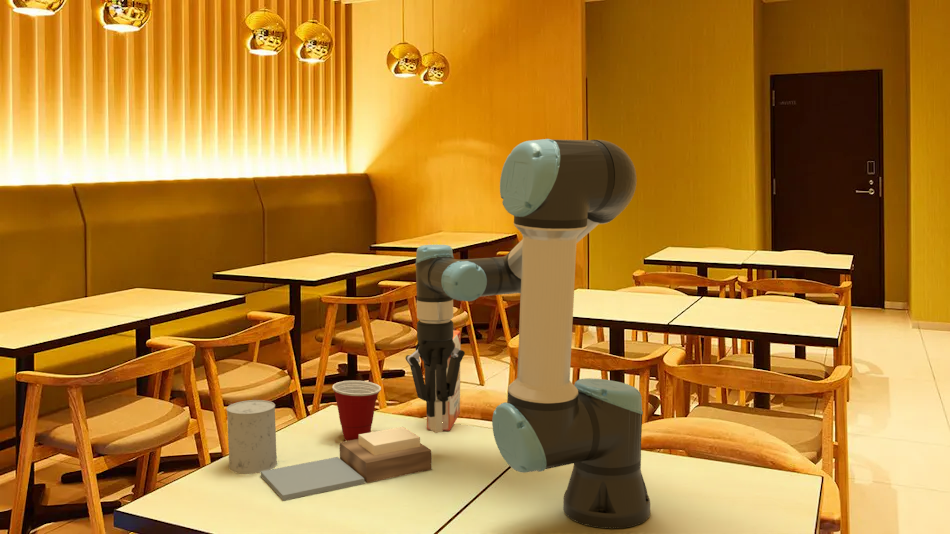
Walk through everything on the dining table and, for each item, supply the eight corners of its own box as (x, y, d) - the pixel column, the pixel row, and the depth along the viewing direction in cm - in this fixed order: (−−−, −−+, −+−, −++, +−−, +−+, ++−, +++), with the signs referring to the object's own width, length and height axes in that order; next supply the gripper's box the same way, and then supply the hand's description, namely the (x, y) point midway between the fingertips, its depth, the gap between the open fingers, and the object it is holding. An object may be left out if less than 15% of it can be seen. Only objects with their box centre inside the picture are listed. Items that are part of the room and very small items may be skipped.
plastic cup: (376, 446, 185) (375, 392, 184) (327, 445, 186) (326, 391, 185) (386, 430, 196) (385, 379, 194) (340, 429, 197) (338, 378, 195)
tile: (420, 446, 173) (419, 437, 173) (374, 455, 168) (374, 445, 168) (402, 435, 180) (402, 426, 180) (358, 443, 175) (358, 434, 174)
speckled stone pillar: (219, 465, 174) (217, 407, 173) (260, 453, 181) (258, 397, 179) (245, 477, 168) (243, 416, 166) (286, 464, 175) (284, 406, 173)
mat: (364, 483, 164) (364, 478, 164) (283, 500, 156) (283, 495, 156) (337, 461, 176) (337, 456, 176) (260, 476, 168) (260, 471, 168)
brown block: (431, 469, 171) (431, 450, 171) (366, 483, 164) (366, 462, 164) (401, 449, 183) (401, 431, 183) (339, 461, 176) (339, 442, 176)
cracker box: (451, 431, 195) (451, 341, 192) (425, 430, 196) (424, 341, 193) (462, 413, 209) (461, 329, 206) (437, 412, 209) (436, 328, 207)
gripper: (454, 314, 183) (454, 421, 186) (398, 320, 176) (400, 430, 179) (471, 319, 176) (472, 430, 179) (414, 326, 170) (416, 441, 173)
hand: (436, 430), depth 179 cm, fingers closed
